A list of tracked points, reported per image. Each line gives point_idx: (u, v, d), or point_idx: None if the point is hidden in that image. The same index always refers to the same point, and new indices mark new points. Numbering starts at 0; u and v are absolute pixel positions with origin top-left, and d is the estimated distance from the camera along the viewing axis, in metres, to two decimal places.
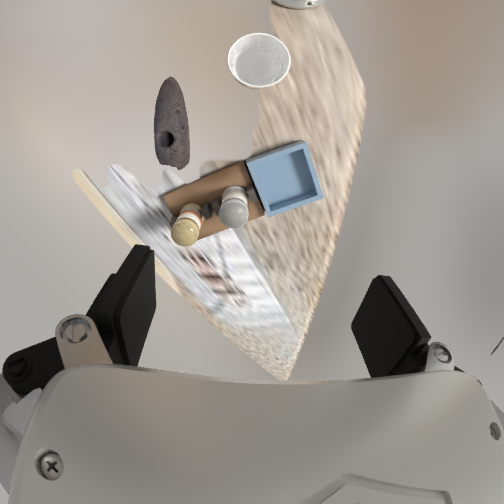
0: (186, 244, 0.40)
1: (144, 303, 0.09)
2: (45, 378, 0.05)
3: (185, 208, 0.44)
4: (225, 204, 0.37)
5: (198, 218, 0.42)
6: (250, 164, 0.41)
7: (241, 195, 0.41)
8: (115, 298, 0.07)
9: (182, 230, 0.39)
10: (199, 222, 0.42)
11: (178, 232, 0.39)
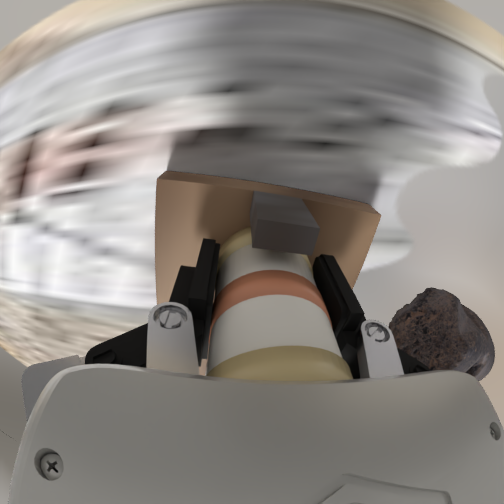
0: None
1: None
2: None
3: None
4: None
5: None
6: None
7: None
8: (204, 285, 0.08)
9: None
10: None
11: None
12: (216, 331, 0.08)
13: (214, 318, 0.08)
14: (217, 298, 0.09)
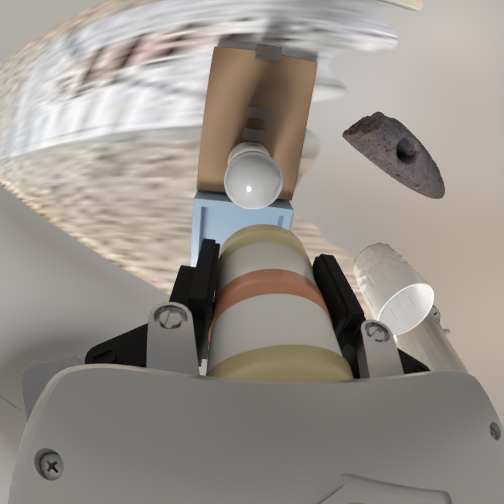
0: None
1: None
2: None
3: None
4: (280, 179, 0.19)
5: None
6: (288, 214, 0.27)
7: None
8: (204, 285, 0.08)
9: None
10: None
11: None
12: (216, 330, 0.08)
13: (214, 317, 0.08)
14: (217, 297, 0.09)
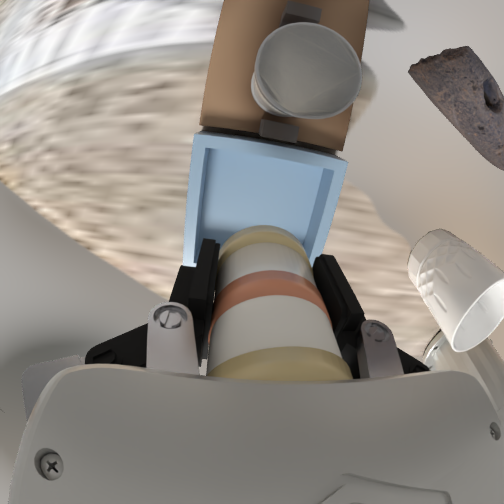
0: None
1: None
2: None
3: None
4: (358, 72, 0.08)
5: None
6: (340, 167, 0.17)
7: None
8: (204, 285, 0.08)
9: None
10: None
11: None
12: (216, 332, 0.08)
13: (214, 319, 0.08)
14: (217, 298, 0.09)
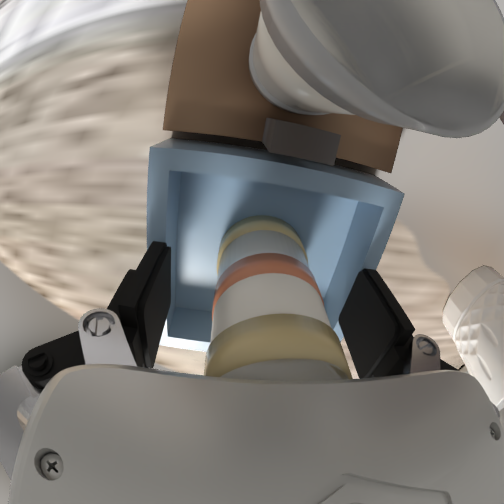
0: None
1: (162, 298, 0.09)
2: None
3: None
4: None
5: None
6: (393, 202, 0.10)
7: None
8: (138, 292, 0.07)
9: None
10: None
11: None
12: (219, 306, 0.09)
13: (217, 296, 0.09)
14: (220, 279, 0.10)
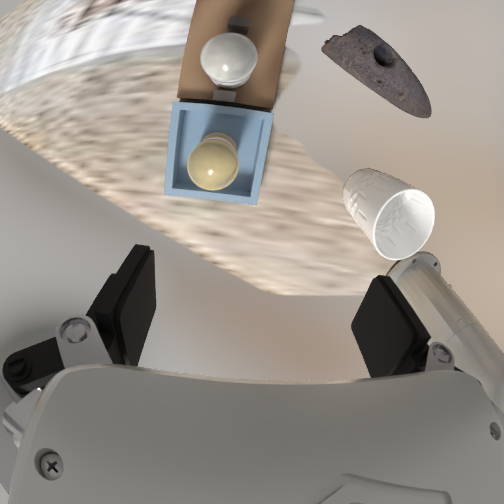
0: (192, 158, 0.21)
1: (144, 303, 0.09)
2: (45, 378, 0.05)
3: None
4: (255, 54, 0.16)
5: None
6: (268, 117, 0.24)
7: (239, 82, 0.20)
8: (115, 298, 0.07)
9: (220, 167, 0.21)
10: None
11: (221, 158, 0.21)
12: None
13: None
14: None
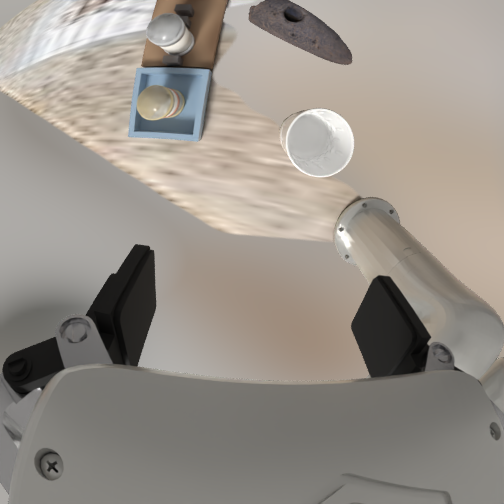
0: (140, 98, 0.25)
1: (144, 303, 0.09)
2: (45, 378, 0.05)
3: (181, 103, 0.30)
4: (181, 24, 0.20)
5: None
6: (205, 72, 0.28)
7: (178, 47, 0.24)
8: (115, 298, 0.07)
9: (159, 102, 0.25)
10: None
11: (159, 96, 0.25)
12: None
13: None
14: None
